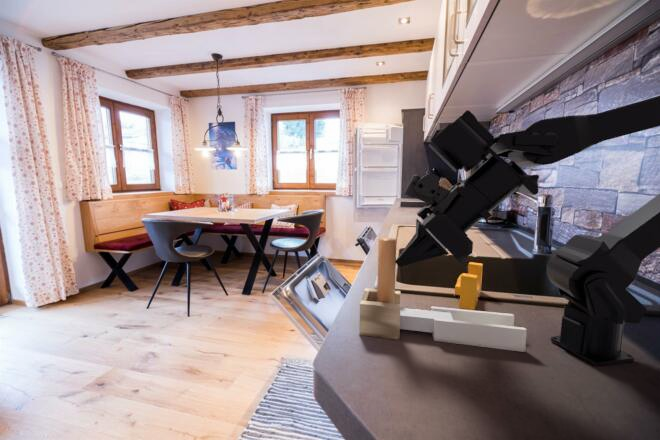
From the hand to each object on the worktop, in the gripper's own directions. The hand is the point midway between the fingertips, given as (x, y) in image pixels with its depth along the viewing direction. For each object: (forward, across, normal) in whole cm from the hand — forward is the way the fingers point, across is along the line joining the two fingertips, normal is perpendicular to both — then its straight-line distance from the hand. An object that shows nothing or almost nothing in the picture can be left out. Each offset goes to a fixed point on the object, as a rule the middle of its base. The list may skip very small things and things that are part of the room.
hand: (397, 264), depth 46 cm
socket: (+9, 0, +6) cm, 11 cm away
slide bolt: (+5, 0, +9) cm, 10 cm away
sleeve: (-1, 0, +16) cm, 16 cm away
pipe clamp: (-2, -17, +18) cm, 24 cm away
